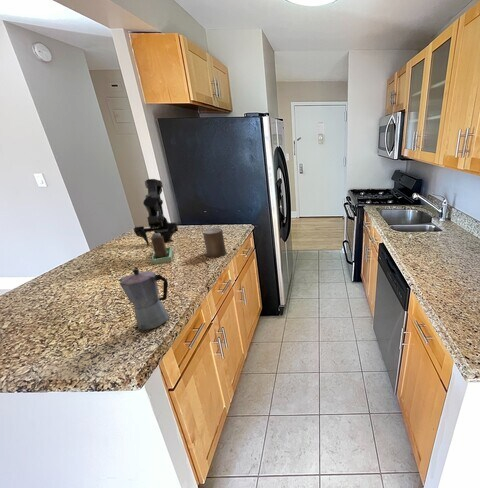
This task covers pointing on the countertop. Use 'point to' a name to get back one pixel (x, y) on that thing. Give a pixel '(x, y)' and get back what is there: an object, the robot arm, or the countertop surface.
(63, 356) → the countertop surface
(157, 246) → the pepper mill
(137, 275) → the moka pot
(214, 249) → the pillar candle
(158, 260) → the caddy
